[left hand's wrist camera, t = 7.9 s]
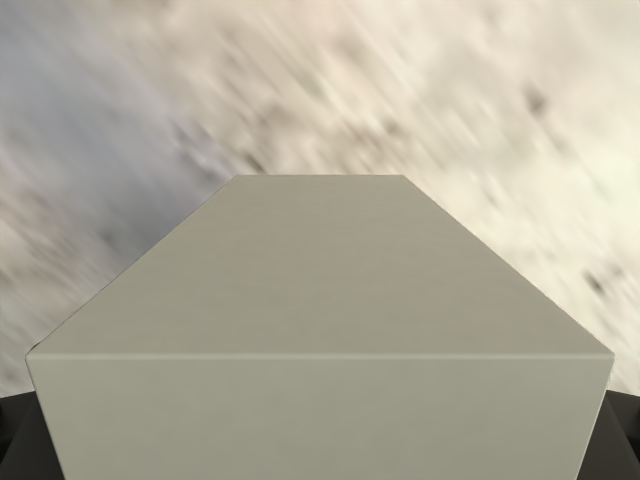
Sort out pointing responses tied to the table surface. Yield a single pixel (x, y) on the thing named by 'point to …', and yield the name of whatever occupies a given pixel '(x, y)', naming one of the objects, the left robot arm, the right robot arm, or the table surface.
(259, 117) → the table surface
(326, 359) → the box
